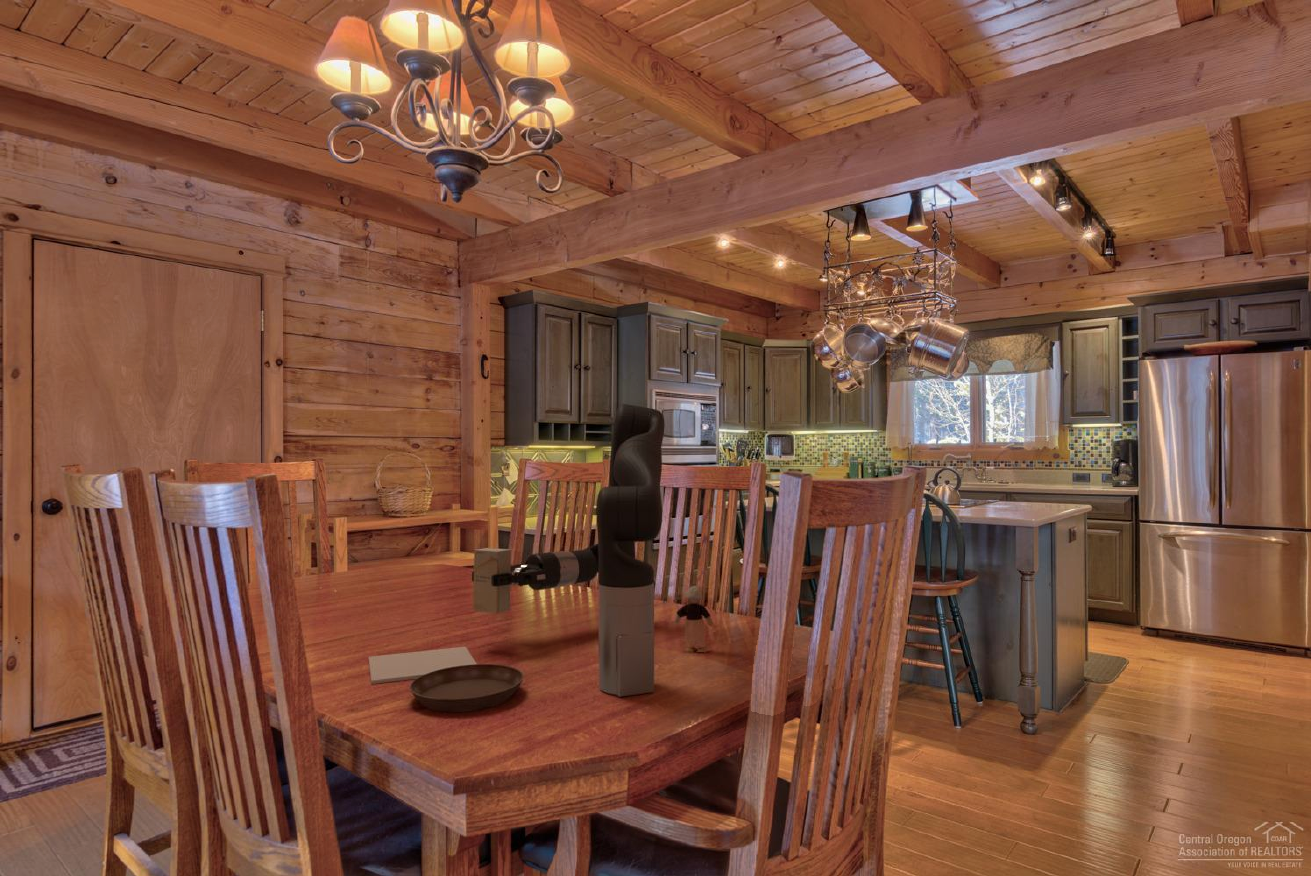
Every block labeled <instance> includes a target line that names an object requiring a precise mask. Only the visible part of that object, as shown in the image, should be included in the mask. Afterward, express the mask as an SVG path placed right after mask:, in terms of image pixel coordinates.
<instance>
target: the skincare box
mask: <svg viewBox="0 0 1311 876" xmlns="http://www.w3.org/2000/svg"><path fill="white" fill-rule="evenodd" d="M473 552H474V553H473V555H474V557H473V558H474V559H473V571H474V582H473V596H472V597H473V601H472V605H473V606H472V608H473V609H472V610H473V611H474V612H479V613H487V614H494V615H495V614H501V613H504V612H505V613H506V612H508V611H510V610H511V585H503V586H492V584H491V577H492V575H495V574H503V573H510V572H511V565H512V564H511V563H512V549H511V548H510V549H506V548H491V547H484V548H477V549H474V551H473Z"/></svg>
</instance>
